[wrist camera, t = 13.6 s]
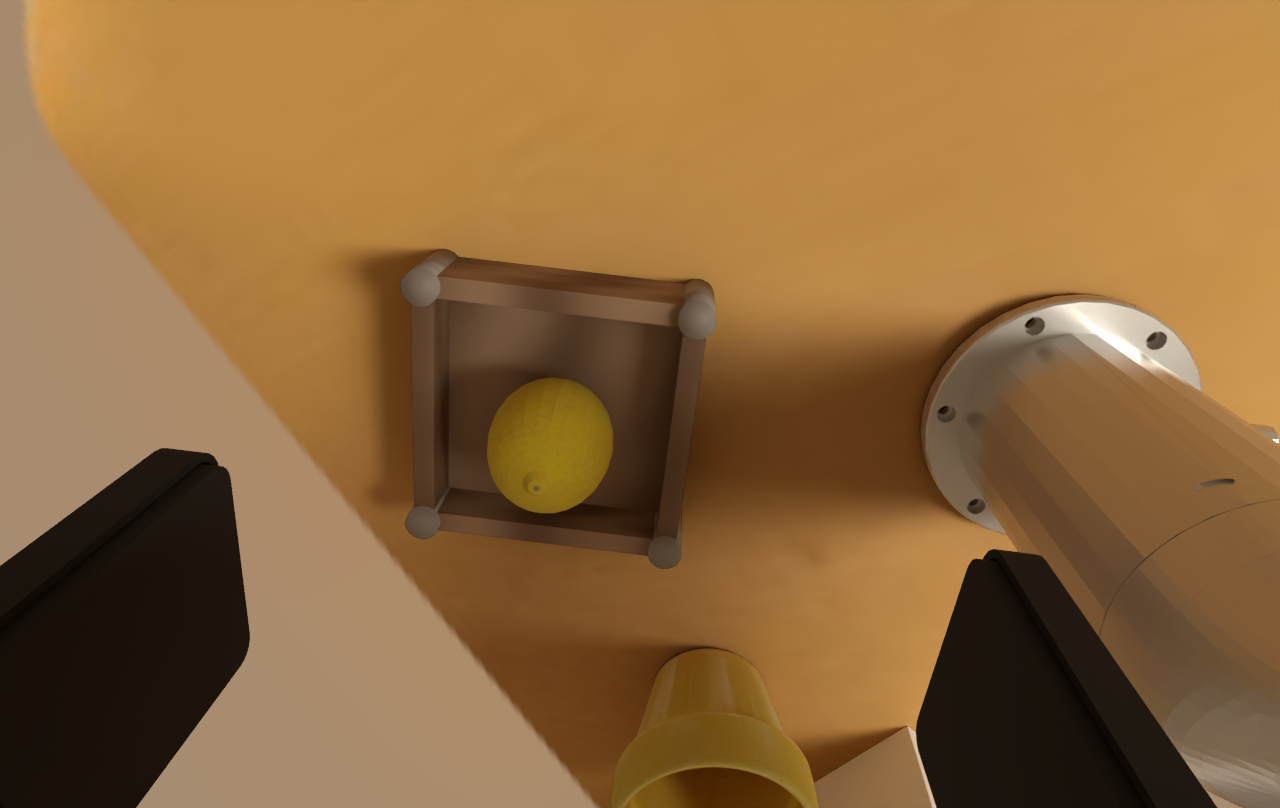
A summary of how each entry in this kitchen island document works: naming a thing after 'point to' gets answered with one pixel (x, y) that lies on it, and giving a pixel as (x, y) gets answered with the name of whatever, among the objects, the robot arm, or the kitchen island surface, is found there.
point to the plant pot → (711, 742)
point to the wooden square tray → (561, 348)
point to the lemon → (550, 445)
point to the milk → (879, 778)
